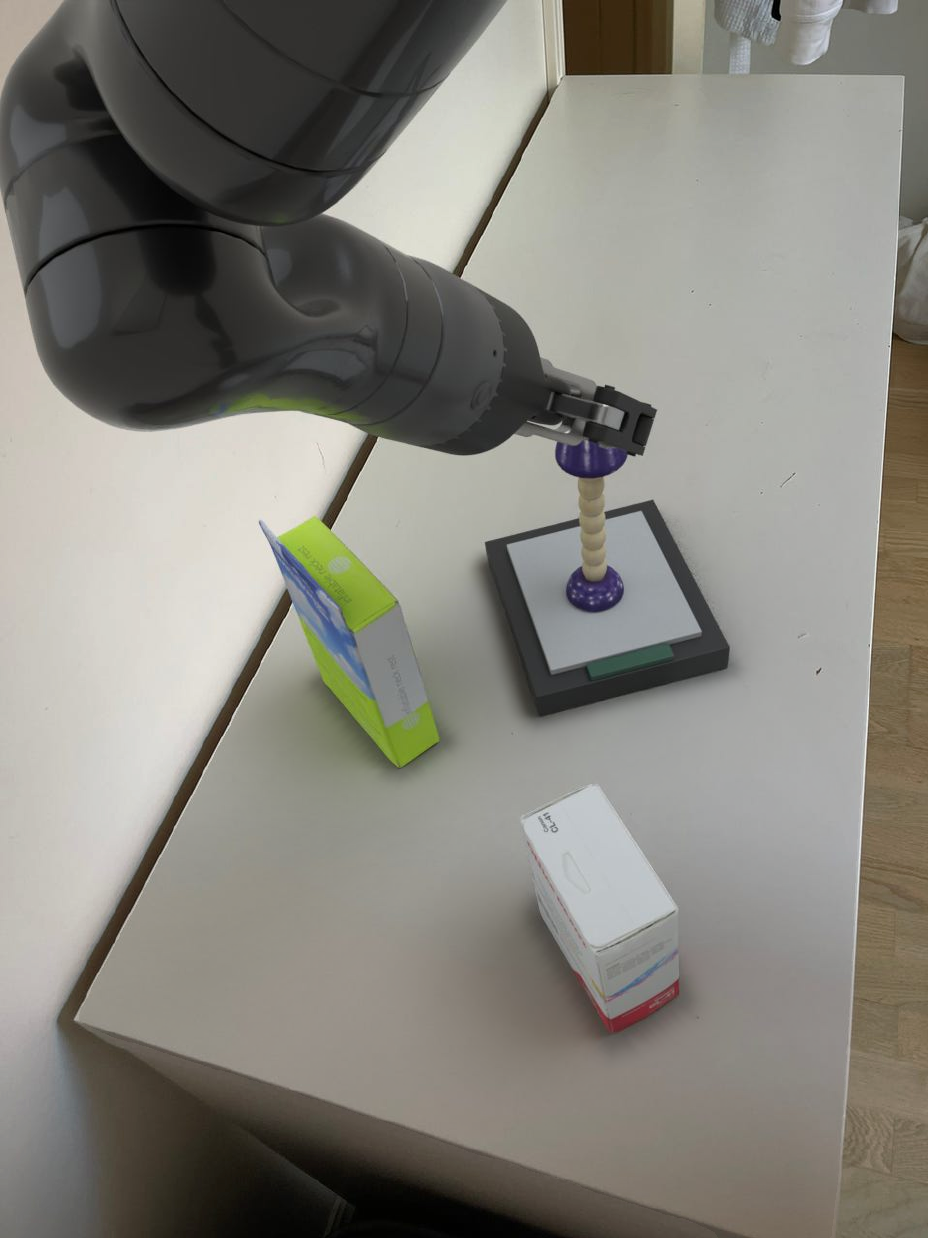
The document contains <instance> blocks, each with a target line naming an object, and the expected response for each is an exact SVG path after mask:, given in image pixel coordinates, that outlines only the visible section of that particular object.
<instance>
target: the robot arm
mask: <svg viewBox="0 0 928 1238" xmlns="http://www.w3.org/2000/svg"><path fill="white" fill-rule="evenodd" d="M507 1H508V0H63V1H62V2H61V3H60V4H59V6H58V7H57V9H55V11H54V12H53V14H52V15H51V16H50V18H49V19H48V20H47V21H46V22H45V23H44V24H43V25H42V27H41V28H40V29H39V30H38V31H37V33H36V34H35V35H34V36H33V37H32V38H31V40H30V41H29V42H28V44H26V46H25V47H24V48H23V49H22V50H21V52H20V53H19V54H18V56H17V58H15V60H14V62H13V63H12V65H11V66H10V68H9V70H8V74H7V75H6V77H5V80H4V83H3V86H2V89H1V93H0V195H1V201H2V203H3V208H4V212H5V217H6V220H7V226H8V230H9V234H10V238H11V243H12V247H13V252H14V256H15V260H16V265H17V269H18V273H19V278H20V282H21V286H22V290H23V295H24V296H23V297H24V299H25V307H26V312H27V315H28V320H29V325H30V329H31V334H32V337H33V341H34V345H35V349H36V353H37V356H38V358H39V361H40V363H41V365H42V368H43V370H44V372H45V374H46V375H47V377H48V379H49V380H50V382H51V383H52V385H53V386H54V387H55V388H56V389H57V390H58V391H59V392H60V394H62V396H63V397H64V398H66V400H68V401H69V402H70V403H72V405H74V406H75V407H76V408H78V409H79V410H81V411H82V412H84V413H85V414H87V415H88V416H90V417H91V418H93V419H95V420H96V421H97V420H98V421H99V422H101V423H104V424H106V425H108V426H110V427H113V428H116V429H119V430H123V431H124V430H125V431H131V432H141V433H154V432H155V433H156V432H162V431H171V430H177V429H183V428H188V427H193V426H198V425H201V424H205V423H206V424H207V423H209V422H214V421H217V420H223V419H227V418H231V417H237V416H242V415H251V414H259V413H260V414H262V413H275V412H277V413H278V412H300V413H304V414H308V415H314V416H317V417H322V418H326V419H330V420H333V421H338V422H342V423H345V424H347V425H350V426H351V427H353V428H355V429H357V430H360V431H362V432H364V433H366V434H368V435H371V436H375V437H378V438H381V439H385V440H387V441H388V440H389V441H393V442H398V443H402V444H406V445H409V446H414V447H419V448H423V449H427V450H430V451H436V452H440V453H443V454H447V455H451V456H452V455H453V456H463V457H464V456H466V457H467V456H474V455H480V454H484V453H486V452H489V451H491V450H494V449H496V448H497V447H499V446H501V445H502V444H504V443H505V442H507V441H508V440H509V439H511V437H513V435H517V436H520V437H524V438H530V437H532V436H537V437H540V438H544V439H547V440H551V441H554V442H556V443H557V442H560V443H564V444H568V445H572V446H576V445H578V444H580V442H581V441H582V440H587V441H589V442H592V443H596V444H600V445H599V447H601V448H604V449H608V447H611V448H616V449H620V450H623V451H627V453H626V454H627V456H631V457H634V458H635V457H636V455H638V456H644V453H645V451H646V447H647V444H648V441H649V437H650V435H651V432H652V429H653V425H654V422H655V418H656V415H657V412H658V409H657V408H655V407H653V406H652V404H650V403H647V402H643V401H640V400H638V399H636V398H634V397H631V396H629V395H627V394H625V393H623V392H621V391H619V390H616V387H615V386H612V385H609V384H604V386H602V385H597V383H596V382H595V381H594V380H592V379H590V378H587V377H584V376H581V375H578V374H575V373H573V372H569V371H567V370H563V369H560V368H558V367H555V366H554V365H553V364H552V362H551V361H550V360H549V359H546V358H545V357H544V358H543V357H541V353H540V350H539V346H538V344H537V340H536V337H535V335H534V333H533V331H532V329H531V328H530V327H529V325H528V323H527V322H526V320H525V319H524V318H523V317H522V315H521V314H519V312H518V311H517V310H515V309H514V308H512V307H511V306H510V305H508V304H507V303H505V302H504V301H502V300H500V299H498V298H496V297H494V296H493V295H491V294H490V293H488V292H486V291H484V290H482V289H481V288H479V287H477V286H475V285H474V284H472V283H470V282H469V281H467V280H465V279H463V278H461V277H459V276H458V275H457V274H454V273H453V272H451V271H449V270H447V269H446V268H444V267H442V266H440V265H438V264H436V263H433V262H431V261H430V260H426V259H423V258H420V257H416V256H413V255H409V254H406V253H404V252H402V251H401V250H399V249H397V248H396V247H394V246H392V245H390V244H388V243H386V242H385V241H382V240H381V239H379V238H378V237H376V236H374V235H372V234H370V233H368V232H367V231H364V230H362V229H361V228H359V227H358V226H355V225H354V224H352V223H349V222H347V221H345V220H342V219H340V218H337V217H335V216H333V215H332V216H331V215H328V214H325V213H324V212H326V211H328V210H329V209H331V208H332V207H333V206H335V205H336V204H338V203H339V202H340V201H341V200H343V198H345V197H346V196H347V195H348V194H349V193H350V192H351V191H352V190H354V189H355V188H356V187H357V186H358V184H360V182H362V180H363V179H364V178H365V177H366V176H367V175H368V173H370V171H371V170H372V169H373V168H374V167H375V165H376V164H377V163H378V162H379V161H380V159H382V157H383V156H384V155H385V154H386V152H388V150H389V149H390V148H391V147H392V145H393V144H394V143H395V142H396V140H398V138H399V137H400V135H401V134H402V133H403V132H404V131H405V129H406V128H407V127H408V126H409V125H410V123H412V121H413V120H414V118H415V117H416V116H417V115H418V114H419V112H420V111H421V110H422V109H423V108H424V106H426V104H427V103H428V102H429V100H430V99H431V98H432V97H433V95H434V94H435V93H436V92H437V91H438V90H439V88H440V87H441V86H442V84H443V83H444V82H445V81H446V80H447V78H448V77H449V76H450V75H451V73H452V72H453V71H454V70H455V69H456V67H457V66H458V65H459V64H460V63H461V61H462V60H463V59H464V57H465V56H466V55H467V54H468V52H469V51H470V50H471V49H472V48H473V46H475V44H476V43H477V41H478V40H479V39H480V38H481V36H482V35H483V34H484V32H485V31H486V30H487V29H488V28H489V26H490V25H491V23H492V22H493V21H494V19H495V18H496V16H498V14H499V12H500V11H501V10H502V9H503V7H504V6H505V4H506V3H507ZM559 424H560V425H559ZM543 425H544V426H543ZM557 425H559V426H558V428H556V429H553V428H550V427H547V426H551V427H553V426H557Z"/></svg>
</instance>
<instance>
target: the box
mask: <svg viewBox="0 0 928 1238" xmlns="http://www.w3.org/2000/svg"><path fill="white" fill-rule="evenodd" d="M258 524H259V526H260V529H261V531H262V532H263V534H264V536H265V538H266V539H267V542H268V544H269V546H270V548H271V551H272V553H273V555H274V558H275V561H276V563H277V565H278V568H279V571H280V573H281V575H282V578H283V581H284V584H285V586H286V589H287V591H288V594H289V597H290V600H291V602H292V604H293V607H294V610H295V613H296V615H297V617H298V620H299V623H300V625H301V627H302V632H303V633H304V636H305V638H306V640H307V643H308V646H309V648H310V650H311V653H312V655H313V656H312V657H313V659H314V661H315V663H316V665H317V668H318V671H319V674H320V677H321V679H322V682H323V683H324V684H325V685H326V686H327V688H329V689H330V691H331V692H332V693H333V694H334V695H335V697H336V698H337V699H338V700H339V701H340V702H341V704H342V705H343V706H344V707H345V709H346V710H347V711H348V713H350V715H351V716H352V717H353V718H354V720H355V721H356V722H357V723H358V724H359V725H360V727H361V728H362V729H363V730H364V731H365V732H366V733H367V734H368V735H369V737H370V738H371V739H372V740H373V742H374V743H375V744H376V745H377V746H378V748H379V750H381V752H382V753H383V754H384V755H385V756H386V757H387V759H388V760H389V761H390V762H391V763H392V764H394V765H395V766H396V767H397V768H398V769H402V768H403V767H405V766H406V765H408V763H410V762H411V761H413V760H414V759H416V758H417V757H418V756H420V755H421V754H423V753H424V752H425V751H427V750H428V749H430V748H431V747H432V746H434V745H436V744H437V743H439V742H440V735H439V732H438V728H437V724H436V721H435V718H434V714H433V710H432V707H431V704H430V701H429V697H428V694H427V690H426V687H425V684H424V683H425V682H424V680H423V676H422V673H421V670H420V666H419V664H418V660H417V657H416V654H415V650H414V647H413V644H412V640H411V637H410V634H409V631H408V626H407V624H406V621H405V617H404V614H403V610H402V607H401V604H400V602H399V600H398V598H397V597H396V596H394V595H393V593H392V592H391V591H390V590H389V589H388V588H387V587H386V586H385V584H383V582H382V581H380V580H379V578H378V577H377V576H376V575H375V574H374V573H373V572H372V571H371V570H370V569H369V568H368V567H367V566H366V564H364V563H363V562H362V561H361V559H360V558H359V557H358V556H356V555H355V554H354V552H353V551H352V550H350V548H349V547H348V546H346V544H345V543H344V542H343V541H342V540H341V539H340V538H339V537H338V536H337V535H336V534H335V533H334V532H333V531H332V530H331V529H330V528H329V527H328V526H327V525H326V524H325V523H324V522H323V521H321V520H320V518H318V517H317V516H315V515H314V516H311V517H310V518H309V519H307V520H305V521H304V522H302V523H300V524H299V525H297V526H295V527H293V528H291V529H290V530H288V531H286V532H284V533H282V534H280V535H278V536H276V535H275V534H274V532H273V531H272V530H271V529H270V528H269V527H268V525H266V523H265V522H264V520H262V519H258Z"/></svg>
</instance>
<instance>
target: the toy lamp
mask: <svg viewBox="0 0 928 1238" xmlns="http://www.w3.org/2000/svg"><path fill="white" fill-rule="evenodd" d="M599 445H600V444H596V443H592V442H589V441H587V440H582V441H581V442H580V444H578V445H576V446H572V445H568V444H564V443H560V442H557V441H556V443H555V448H554V458H555V462H556V463H557V465H558V467H559V468H560V469H561V470H562V471H563V472H564V473H566V474H568V475H570V476H572V477H575V478H578V480H577V490H578V493H579V496H578V508H579V510H580V512H579V515H578V516H579V517H578V518H579V523H580V526H581V528H582V529H581V532H580V539H581V542H582V544H583V545H582V549H581V555H582V558H583V560H584V561H583V564H582V566H581V567H579V568H577V569H576V570H575V571H574V572H573V573H572V575H571V576H570V578H569V580H568V583H567V587H566V595H567V598H568V600H569V602H570V603H571V604H573V605H574V606H575V607H577V608H579V609H581V610H584V611H588V612H599V611H603V610H606V609H609V608H611V607H613V606H615V605H616V604H617V603H619V601H620V600H621V599H622V596H623V594H624V585H623V582H622V579H621V577H620V575H619V574H618V573H617V572H616V571H615V570H614V569H613V568H612V567H610V566H608V565H607V563H606V560H605V557H606V546H605V540H606V530H605V528H604V524H605V513H604V512H605V510H604V509H605V505H606V499H605V495H604V490H605V485H606V484H605V477H607V476H610V475H612V474H614V473H615V472H617V471H619V470H620V469H621V468H622V467H623V466H624V465H625V463H626V461H627V459H628V455H627V454H626V453H627V451H623V450H620V449H616V448H611V447H608V449H604V448H601V447H599Z"/></svg>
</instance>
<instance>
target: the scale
mask: <svg viewBox="0 0 928 1238" xmlns="http://www.w3.org/2000/svg"><path fill="white" fill-rule="evenodd" d="M604 513H605V524H604V528H605V530H606V540H605V546H606V557H605V560H606V563H607V565H608V566H610V567H612V568H613V569H614V570H615V571H616V572H617V573H618V574H619V575H620V577H621V579H622V582H623V585H624V594H623V596H622V599H621V600H620V601H619V603H617V604H616V605H615V606H613V607H611V608H609V609H606V610H603V611H599V612H588V611H584V610H581V609H579V608H577V607H575V606H574V605H573V604H571V603H570V602H569V600H568V598H567V595H566V587H567V583H568V580H569V578H570V576H571V575H572V573H573V572H574V571H575V570H576V569H577V568H579V567H581V566H582V564H583V561H584V560H583V558H582V555H581V549H582V545H583V544H582V542H581V539H580V532H581V529H582V528H581V526H580V523H579V517H578V518H574V519H571V520H566V521H563V522H558V523H555V524H550V525H546V526H543V527H539V528H534V529H530V530H526V531H523V532H517V533H514V534H510V535H507V536H506V535H505V536H503V537H499V538H495V539H491V540H487V541H485V542H484V547H485V553H486V558H487V564H488V567H489V569H490V572H491V575H492V579H493V582H494V585H495V589H496V591H497V594H498V597H499V600H500V603H501V606H502V609H503V612H504V615H505V619H506V621H507V625H508V627H509V631H510V633H511V636H512V639H513V643H514V646H515V649H516V652H517V654H518V657H519V661H520V664H521V667H522V670H523V672H524V677H525V680H526V682H527V686H528V688H529V692H530V694H531V698H532V700H533V703H534V706H535V710H536V713H537V715H538V717H544V716H548V715H551V714H552V715H553V714H555V713H558V712H559V713H560V712H562V711H567V710H571V709H575V708H578V707H583V706H586V705H589V704H594V703H597V702H600V701H605V700H610V699H612V698H616V697H621V696H625V695H628V694H632V693H636V692H640V691H644V690H648V689H652V688H655V687H659V686H663V685H666V684H671V683H674V682H679V681H682V680H687V679H689V678H694V677H698V676H702V675H705V674H709V673H714V672H717V671H721V670H724V669H728V668H729V661H730V660H729V658H730V652H731V651H730V649H731V646H730V645H729V643H728V640H727V638H726V637H725V635H724V633H723V632H722V631H723V630H722V629H721V628H720V626H719V624H718V623H719V622H717V620H716V617H715V616H714V614H713V612H712V610H711V608H710V606H709V605H708V602H707V600H706V598H705V597H704V595H703V592H702V591H701V589H700V587H699V584H698V583H697V581H696V579H695V577H694V576H693V573H692V571H691V570H690V568H689V565H688V564H687V562H686V559H685V558H684V556H683V554H682V552H681V550H680V548H679V546H678V545H677V543H676V541H675V539H674V537H673V535H672V533H671V531H670V529H669V527H668V525H667V523H666V521H665V519H664V518H663V515H662V514H661V511H660V510H659V508H658V506H657V504H656V502H655V500H654V499H650V500H646V501H642V502H638V503H634V504H629V505H625V506H621V507H618V508H614V509H610V510H604Z"/></svg>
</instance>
